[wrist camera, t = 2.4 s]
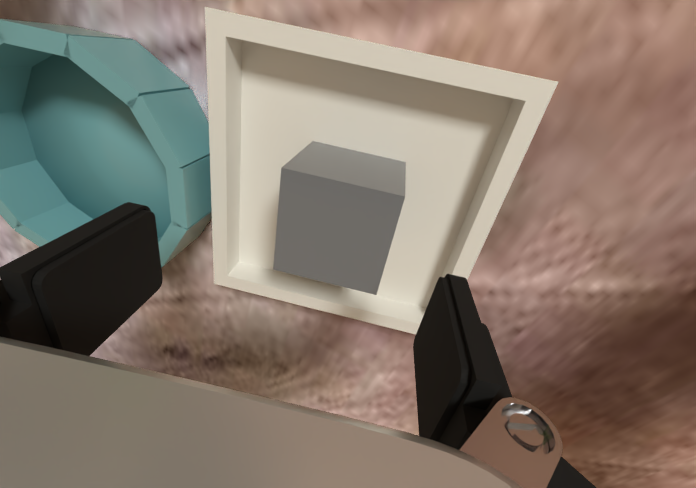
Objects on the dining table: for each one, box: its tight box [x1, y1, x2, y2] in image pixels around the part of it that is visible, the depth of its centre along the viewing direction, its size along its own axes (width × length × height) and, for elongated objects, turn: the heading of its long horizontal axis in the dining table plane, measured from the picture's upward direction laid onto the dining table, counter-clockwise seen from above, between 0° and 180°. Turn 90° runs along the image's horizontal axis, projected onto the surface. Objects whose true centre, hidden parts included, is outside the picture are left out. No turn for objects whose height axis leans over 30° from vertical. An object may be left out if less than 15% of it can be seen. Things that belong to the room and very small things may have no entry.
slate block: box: [273, 141, 406, 295], centre depth 15 cm, size 4×4×4 cm
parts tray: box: [205, 7, 558, 334], centre depth 16 cm, size 13×13×2 cm
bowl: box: [0, 19, 212, 267], centre depth 17 cm, size 12×12×4 cm
